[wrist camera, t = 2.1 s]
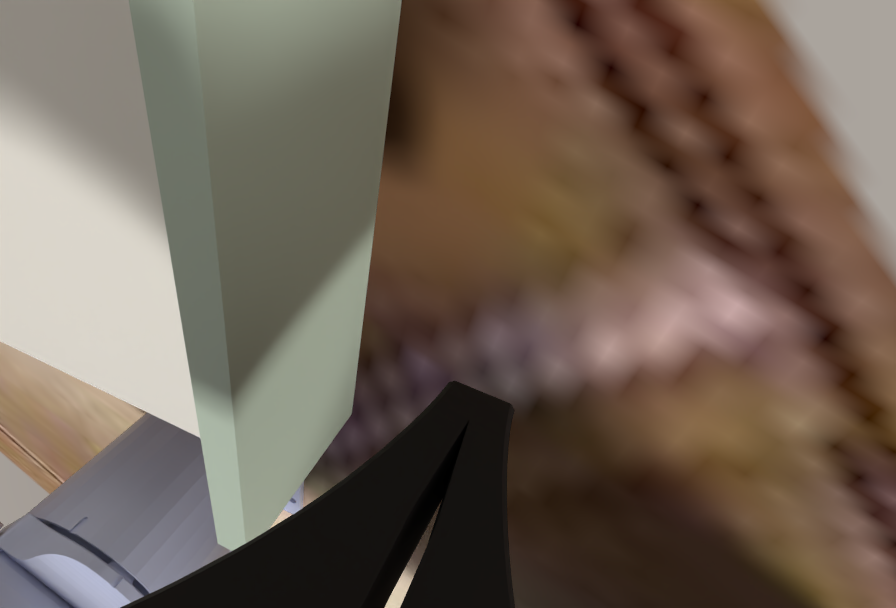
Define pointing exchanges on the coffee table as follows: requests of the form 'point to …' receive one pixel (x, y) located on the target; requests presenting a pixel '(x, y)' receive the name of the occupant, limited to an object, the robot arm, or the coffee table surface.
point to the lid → (198, 217)
